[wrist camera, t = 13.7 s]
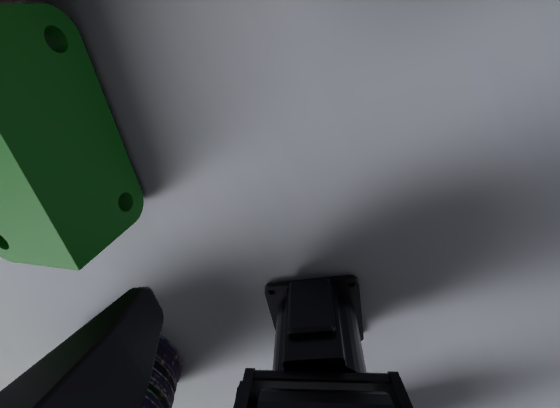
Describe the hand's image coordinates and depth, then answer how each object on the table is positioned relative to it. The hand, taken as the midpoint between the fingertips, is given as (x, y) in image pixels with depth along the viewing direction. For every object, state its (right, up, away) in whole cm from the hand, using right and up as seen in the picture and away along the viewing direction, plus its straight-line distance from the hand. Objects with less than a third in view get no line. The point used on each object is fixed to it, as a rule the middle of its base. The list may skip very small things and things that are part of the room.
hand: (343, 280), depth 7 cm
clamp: (-14, +6, +12) cm, 19 cm away
